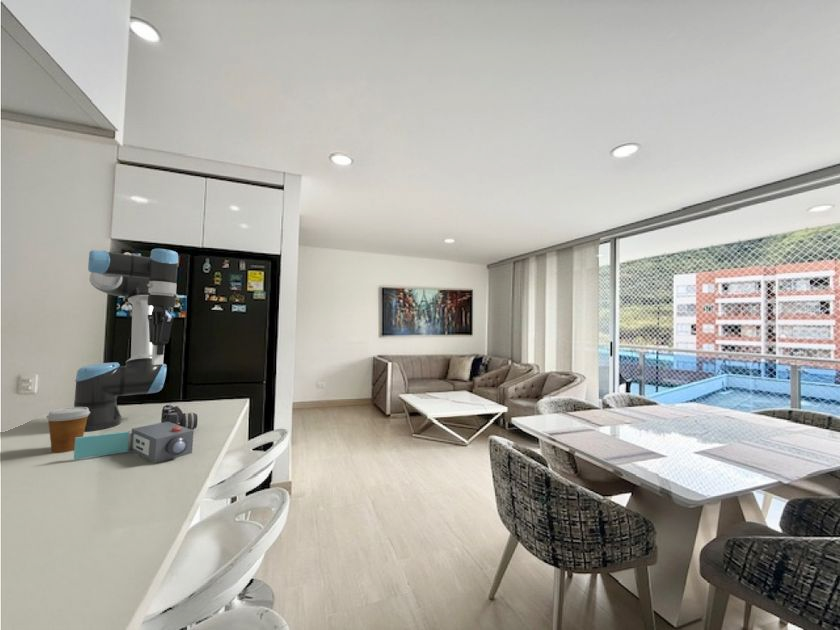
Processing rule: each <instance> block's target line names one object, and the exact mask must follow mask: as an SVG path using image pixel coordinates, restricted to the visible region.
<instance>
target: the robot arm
mask: <svg viewBox="0 0 840 630" xmlns="http://www.w3.org/2000/svg"><path fill="white" fill-rule="evenodd" d="M87 264H88V265H87V270H88V272H89V273H90V274H89V282H90V284H91V285H92V286H93V287H94V288H95V289H96V290H98V291H100V292H102V293H104V294H107V295H109V296H110V295H112V296H115V297H124V298H127V301H128V303H130V305H132V309H131V310H132V311H131V315H132V316H131V343H130V344H131V346H130V347H131V348H130V358H128V359H127V360H126V361H125V365H121V364H120V363H119V362H118V361H117V362H116V361H115V362H113V361H112V362H103V363H101V362H100V363H95V364H89V365H86V366H82V367H80V368H78V370H77V371H76V377H75V379H74V382H75V390H74V398H73V399H74V401H73V402H74V403H73V407H87V408H88V409H89V411H90V414H89V415H88V418H87V422H86V426H85V430H84V432H92V431H99V430H105V429H108V428H109V429H110V428H113V427H116V426H118V425H120V424H121V423H122V415H121V412H120V409H119V406H118V404H117V399H118V397H122V396H133V395H144V394H145V395H148V394H155V393H158V392H160V391H161V390H162V389H163V388H164V384H165V380H166V377H167V371H168V370H167V369H168V367H167V364H166V363H164V357H165V355H164V354H165V345H166V344H167V345H168V344H169V342H170V338H171V337H170V336H171V331H172V326H173V322H174V320H175V316H174V315H171V308H174V307H176V297H175V296H176V295H177V286H178V285H177V280H178V279H177V277H178V268H179V267H178V266H179V254H178V252H176V251H174V250H171V249H165V248H154V249H152V250H151V251H150V256H148V257H147V256H141V255H133V254H127V253H126V254H125V253H120V252H118V253H117V252H112V251H106V250H95V249H94V250H93V249H92V250H90V251H89V253H88V263H87Z"/></svg>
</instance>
